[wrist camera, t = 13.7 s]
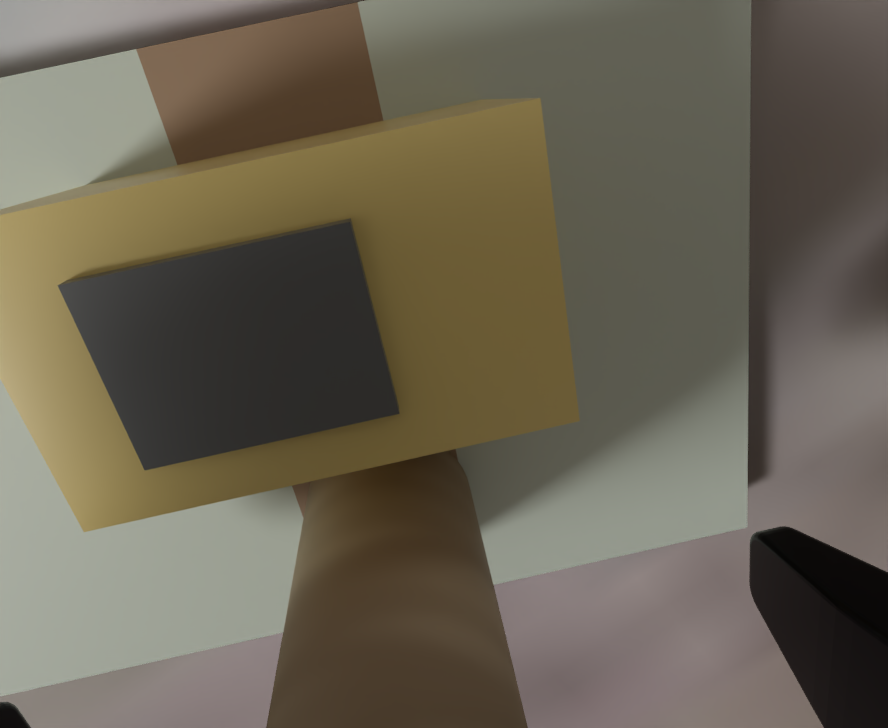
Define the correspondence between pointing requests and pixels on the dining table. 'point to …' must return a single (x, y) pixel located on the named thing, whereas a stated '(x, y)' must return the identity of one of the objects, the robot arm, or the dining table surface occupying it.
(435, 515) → the awl
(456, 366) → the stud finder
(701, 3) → the board
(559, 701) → the dining table surface
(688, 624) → the dining table surface
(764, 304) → the dining table surface
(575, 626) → the dining table surface
